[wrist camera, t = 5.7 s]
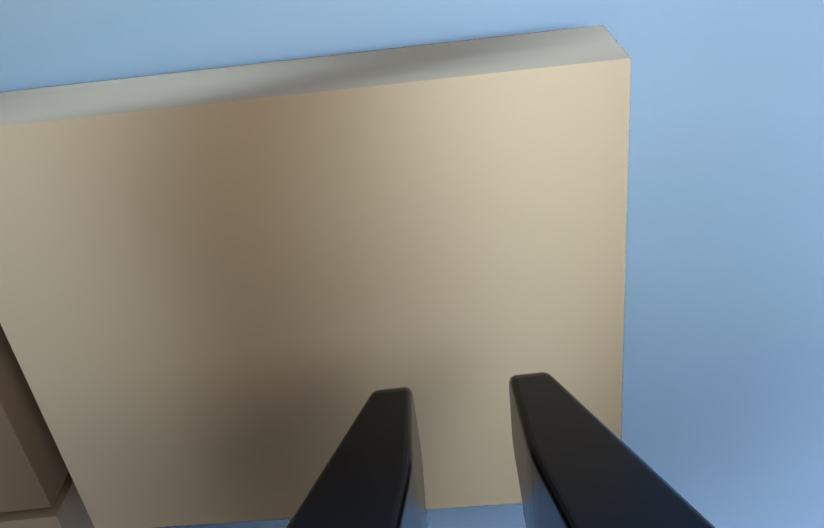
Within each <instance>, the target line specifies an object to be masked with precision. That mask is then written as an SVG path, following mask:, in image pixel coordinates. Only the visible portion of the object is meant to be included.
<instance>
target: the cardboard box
mask: <svg viewBox="0 0 824 528" xmlns="http://www.w3.org/2000/svg"><path fill="white" fill-rule="evenodd" d="M0 528H95V527H94V525H93V523H92V521H91V518H90V516H89V514H88V512H87V510H86V508H85V505H84V503H83V501H82V499H81V497H80V495H79V493H78V490H77V488H76V486H75V484H74V482H73V480H72V477H71V475H70V473H69V471H68V469H67V467H66V464H65V462H64V460H63V458H62V456H61V454H60V451H59V449H58V447H57V445H56V443H55V441H54V438H53V436H52V434H51V432H50V430H49V428H48V426H47V423H46V421H45V419H44V417H43V415H42V413H41V410H40V408H39V406H38V404H37V402H36V400H35V397H34V395H33V393H32V391H31V389H30V387H29V384H28V382H27V380H26V378H25V376H24V374H23V372H22V369H21V367H20V365H19V363H18V361H17V359H16V356H15V354H14V352H13V350H12V348H11V346H10V343H9V341H8V339H7V337H6V335H5V333H4V330H3V328H2V326H1V324H0Z"/></svg>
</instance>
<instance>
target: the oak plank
mask: <svg viewBox="0 0 824 528" xmlns="http://www.w3.org/2000/svg"><path fill="white" fill-rule="evenodd" d="M630 76H631V58H630V56H629V55H628V54H627V53H626V52H625V50H624V49H623V48H622V47H621V46H620V45H619V43H618V42H617V41H616V40H615V39H614V37H613V36H612V35H611V34H610V33H609V31H608V30H607V29H606V28H605V27H604V26H603V25H600V26H591V27H582V28H573V29H564V30H555V31H546V32H537V33H528V34H519V35H510V36H501V37H492V38H483V39H474V40H465V41H456V42H447V43H438V44H429V45H420V46H411V47H403V48H394V49H385V50H376V51H367V52H358V53H349V54H340V55H331V56H322V57H313V58H304V59H295V60H286V61H277V62H268V63H259V64H250V65H241V66H232V67H223V68H214V69H205V70H197V71H188V72H179V73H170V74H161V75H152V76H143V77H134V78H125V79H116V80H107V81H98V82H89V83H80V84H71V85H62V86H53V87H44V88H35V89H26V90H17V91H8V92H0V324H1V326H2V328H3V330H4V333H5V335H6V337H7V339H8V341H9V343H10V346H11V348H12V350H13V352H14V354H15V356H16V359H17V361H18V363H19V365H20V367H21V369H22V372H23V374H24V376H25V378H26V380H27V382H28V384H29V387H30V389H31V391H32V393H33V395H34V397H35V400H36V402H37V404H38V406H39V408H40V410H41V413H42V415H43V417H44V419H45V421H46V423H47V426H48V428H49V430H50V432H51V434H52V436H53V438H54V441H55V443H56V445H57V447H58V449H59V451H60V454H61V456H62V458H63V460H64V462H65V464H66V467H67V469H68V471H69V473H70V475H71V477H72V480H73V482H74V484H75V486H76V488H77V490H78V493H79V495H80V497H81V499H82V501H83V503H84V505H85V508H86V510H87V512H88V514H89V516H90V518H91V521H92V523H93V525H94V527H95V528H155V527H170V526H185V525H200V524H215V523H231V522H246V521H261V520H276V519H291V518H293V516H294V515H295V513H296V512H297V510H298V509H299V507H300V505H301V504H302V502H303V501H304V499H305V498H306V496H307V494H308V493H309V491H310V490H311V488H312V487H313V485H314V483H315V482H316V480H317V479H318V477H319V475H320V474H321V472H322V471H323V469H324V468H325V466H326V464H327V463H328V461H329V460H330V458H331V457H332V455H333V453H334V452H335V450H336V449H337V447H338V446H339V444H340V442H341V441H342V439H343V438H344V436H345V435H346V433H347V431H348V430H349V428H350V427H351V425H352V424H353V422H354V420H355V419H356V417H357V416H358V414H359V413H360V411H361V409H362V408H363V406H364V405H365V403H366V402H367V400H368V398H369V397H370V395H371V394H372V393H373V392H374V391H377V390H382V389H391V388H400V387H408V388H410V390H411V391H412V393H413V398H414V404H415V411H416V418H417V425H418V432H419V439H420V446H421V454H422V464H423V476H424V489H425V501H426V510H427V509H442V508H457V507H472V506H487V505H502V504H517V503H522V497H521V491H520V485H519V479H518V473H517V467H516V461H515V455H514V448H513V439H512V426H511V411H510V396H509V380H510V378H511V377H512V376H514V375H520V374H529V373H538V372H546V373H548V374H550V375H551V376H552V377H553V378H555V379H556V380H557V381H558V382H559V383H560V384H561V385H562V386H563V387H564V388H565V389H566V390H567V391H569V392H570V393H571V394H572V395H573V396H574V397H575V398H576V399H577V400H578V401H579V402H580V403H581V404H583V405H584V406H585V407H586V408H587V409H588V410H589V411H590V412H591V413H592V414H593V415H594V416H595V417H597V418H598V419H599V420H600V421H601V422H602V423H603V424H604V425H605V426H606V427H607V428H608V429H609V430H611V431H612V432H613V433H614V434H615V435H616V436H617V437H618V438H619V439H620V440H621V417H622V379H623V341H624V303H625V265H626V227H627V189H628V151H629V113H630Z"/></svg>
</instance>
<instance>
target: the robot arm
mask: <svg viewBox="0 0 824 528" xmlns="http://www.w3.org/2000/svg"><path fill="white" fill-rule="evenodd" d="M509 396H510V411H511V426H512V439H513V448H514V455H515V461H516V467H517V473H518V479H519V485H520V491H521V497H522V503H523V510H524V516H525V522H526V528H715V527H714V526H713V525H712V524H711V523H710V522H709V521H708V520H706V519H705V518H704V517H703V516H702V515H701V514H700V513H699V512H698V511H697V510H696V509H695V508H694V507H692V506H691V505H690V504H689V503H688V502H687V501H686V500H685V499H684V498H683V497H682V496H681V495H680V494H678V493H677V492H676V491H675V490H674V489H673V488H672V487H671V486H670V485H669V484H668V483H667V482H666V481H664V480H663V479H662V478H661V477H660V476H659V475H658V474H657V473H656V472H655V471H654V470H653V469H652V468H650V467H649V466H648V465H647V464H646V463H645V462H644V461H643V460H642V459H641V458H640V457H639V456H638V455H636V454H635V453H634V452H633V451H632V450H631V449H630V448H629V447H628V446H627V445H626V444H625V443H623V442H622V441H621V440H620V439H619V438H618V437H617V436H616V435H615V434H614V433H613V432H612V431H611V430H609V429H608V428H607V427H606V426H605V425H604V424H603V423H602V422H601V421H600V420H599V419H598V418H597V417H595V416H594V415H593V414H592V413H591V412H590V411H589V410H588V409H587V408H586V407H585V406H584V405H583V404H581V403H580V402H579V401H578V400H577V399H576V398H575V397H574V396H573V395H572V394H571V393H570V392H569V391H567V390H566V389H565V388H564V387H563V386H562V385H561V384H560V383H559V382H558V381H557V380H556V379H555V378H553V377H552V376H551V375H550V374H548V373H546V372H538V373H529V374H520V375H514V376H512V377H511V378H510V380H509ZM286 528H428V526H427V514H426V501H425V489H424V476H423V464H422V454H421V446H420V439H419V432H418V425H417V418H416V411H415V404H414V398H413V393H412V391H411V390H410V388H408V387H400V388H391V389H382V390H377V391H374V392H373V393H372V394H371V395H370V397H369V398H368V400H367V402H366V403H365V405H364V406H363V408H362V409H361V411H360V413H359V414H358V416H357V417H356V419H355V420H354V422H353V424H352V425H351V427H350V428H349V430H348V431H347V433H346V435H345V436H344V438H343V439H342V441H341V442H340V444H339V446H338V447H337V449H336V450H335V452H334V453H333V455H332V457H331V458H330V460H329V461H328V463H327V464H326V466H325V468H324V469H323V471H322V472H321V474H320V475H319V477H318V479H317V480H316V482H315V483H314V485H313V487H312V488H311V490H310V491H309V493H308V494H307V496H306V498H305V499H304V501H303V502H302V504H301V505H300V507H299V509H298V510H297V512H296V513H295V515H294V516H293V518H292V520H291V521H290V523H289V524H288V526H287V527H286Z"/></svg>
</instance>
